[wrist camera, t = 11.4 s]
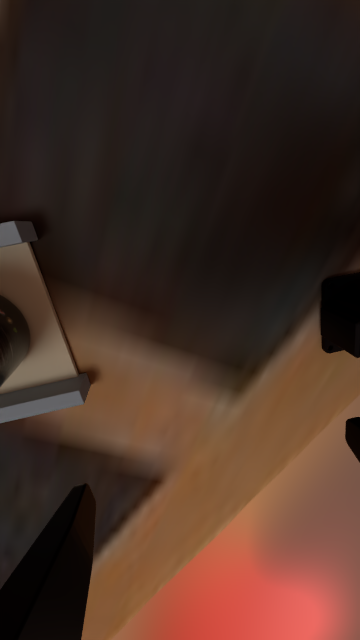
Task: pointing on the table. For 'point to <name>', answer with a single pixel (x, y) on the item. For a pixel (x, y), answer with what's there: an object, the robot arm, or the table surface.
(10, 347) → the supplement bottle
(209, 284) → the table surface
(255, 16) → the table surface
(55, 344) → the keeper bracket
